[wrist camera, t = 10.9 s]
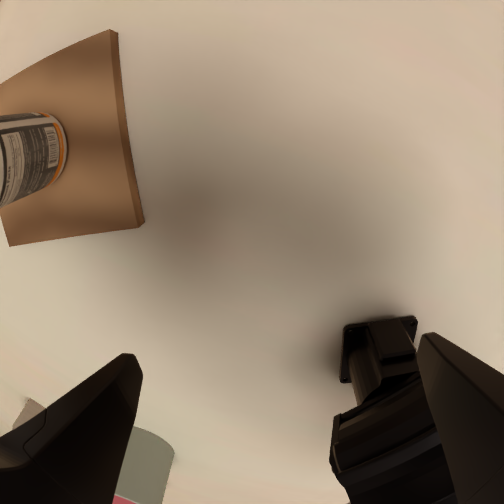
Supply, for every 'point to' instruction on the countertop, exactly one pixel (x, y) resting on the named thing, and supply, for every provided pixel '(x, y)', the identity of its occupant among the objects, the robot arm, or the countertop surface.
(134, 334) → the countertop surface
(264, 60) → the countertop surface
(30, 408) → the small printed carton
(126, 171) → the plinth
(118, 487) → the mug
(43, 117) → the pill bottle
